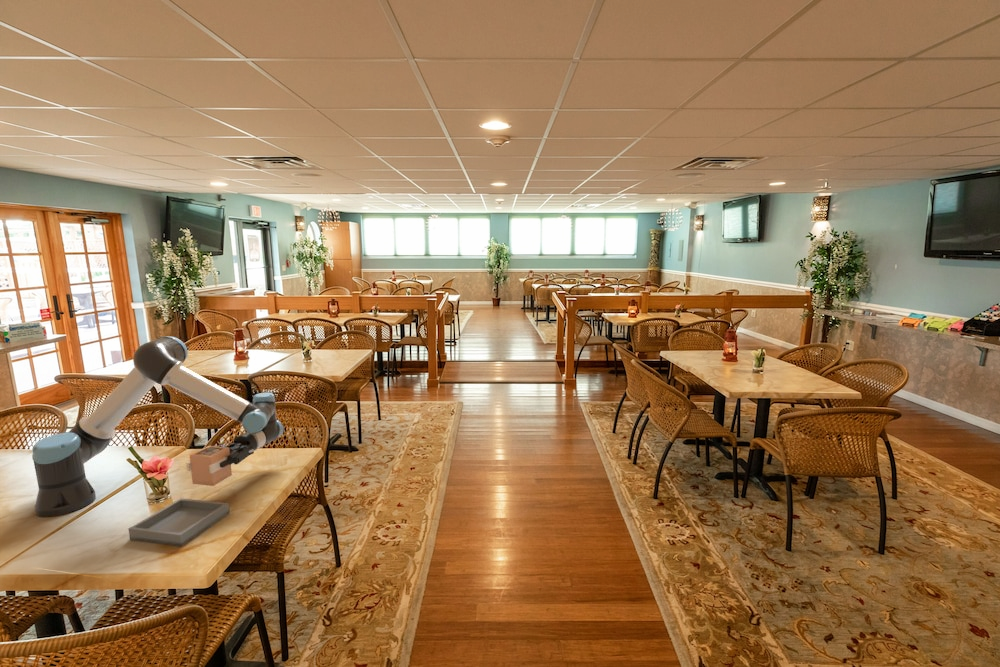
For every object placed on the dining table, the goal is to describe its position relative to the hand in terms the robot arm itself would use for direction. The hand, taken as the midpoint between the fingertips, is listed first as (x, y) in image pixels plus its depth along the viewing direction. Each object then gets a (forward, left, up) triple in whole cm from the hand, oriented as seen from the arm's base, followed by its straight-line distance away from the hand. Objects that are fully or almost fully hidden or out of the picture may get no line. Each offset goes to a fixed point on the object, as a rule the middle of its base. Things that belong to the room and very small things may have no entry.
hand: (199, 468), depth 154 cm
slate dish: (+2, -10, -14) cm, 17 cm away
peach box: (0, +5, -6) cm, 8 cm away
